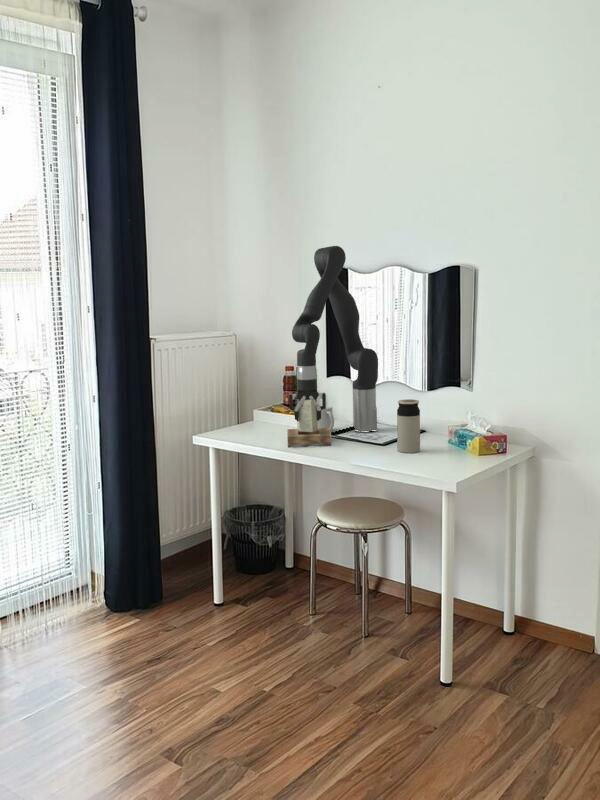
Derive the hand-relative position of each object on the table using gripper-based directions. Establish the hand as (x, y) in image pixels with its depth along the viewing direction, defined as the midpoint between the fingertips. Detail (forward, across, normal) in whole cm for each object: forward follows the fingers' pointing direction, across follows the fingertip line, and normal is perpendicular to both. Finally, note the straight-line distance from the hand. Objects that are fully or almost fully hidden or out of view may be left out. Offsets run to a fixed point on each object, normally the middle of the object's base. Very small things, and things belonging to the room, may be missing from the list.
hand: (307, 420), depth 302 cm
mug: (+9, -6, -19) cm, 22 cm away
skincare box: (+4, 0, 0) cm, 4 cm away
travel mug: (+9, -35, +19) cm, 41 cm away
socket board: (+8, 0, 0) cm, 8 cm away
